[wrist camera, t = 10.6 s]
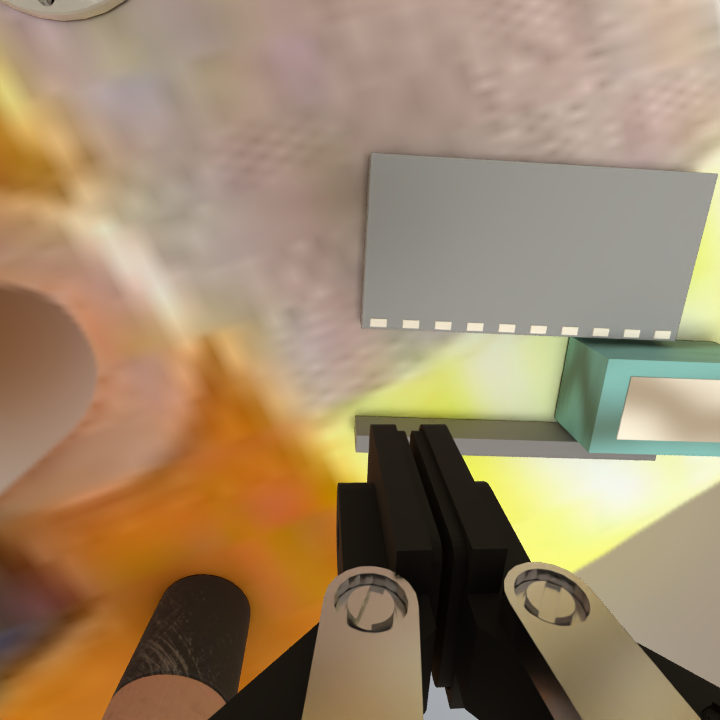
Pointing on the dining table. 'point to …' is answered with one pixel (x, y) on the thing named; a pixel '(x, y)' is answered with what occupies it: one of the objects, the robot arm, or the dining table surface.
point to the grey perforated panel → (526, 265)
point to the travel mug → (186, 654)
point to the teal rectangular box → (642, 396)
